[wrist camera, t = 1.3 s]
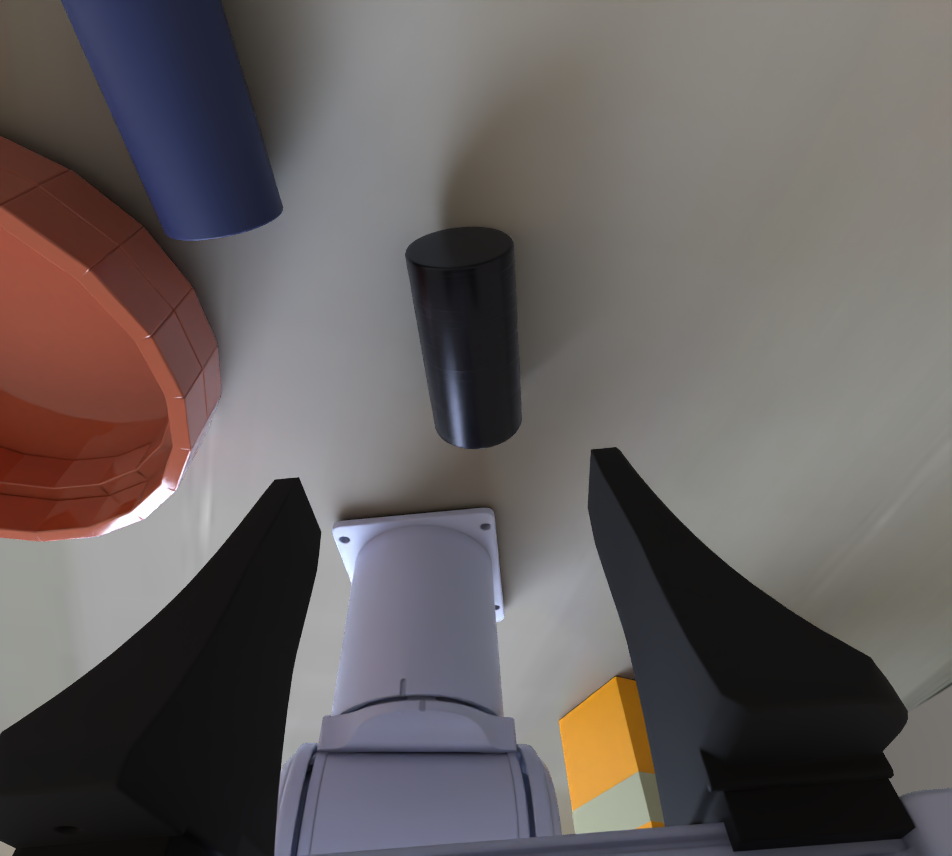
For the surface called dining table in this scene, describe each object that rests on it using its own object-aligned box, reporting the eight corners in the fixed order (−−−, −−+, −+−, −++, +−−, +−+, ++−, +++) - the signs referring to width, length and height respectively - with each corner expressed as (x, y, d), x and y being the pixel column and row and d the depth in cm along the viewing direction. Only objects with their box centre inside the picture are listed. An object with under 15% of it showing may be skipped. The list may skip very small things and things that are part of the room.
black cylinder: (494, 386, 23) (538, 428, 21) (421, 414, 22) (458, 462, 20) (480, 218, 19) (534, 247, 16) (389, 243, 18) (431, 278, 15)
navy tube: (307, 207, 17) (213, 248, 15) (235, 196, 18) (141, 232, 16) (218, -117, 12) (64, -126, 10) (133, -93, 14) (-14, -96, 12)
